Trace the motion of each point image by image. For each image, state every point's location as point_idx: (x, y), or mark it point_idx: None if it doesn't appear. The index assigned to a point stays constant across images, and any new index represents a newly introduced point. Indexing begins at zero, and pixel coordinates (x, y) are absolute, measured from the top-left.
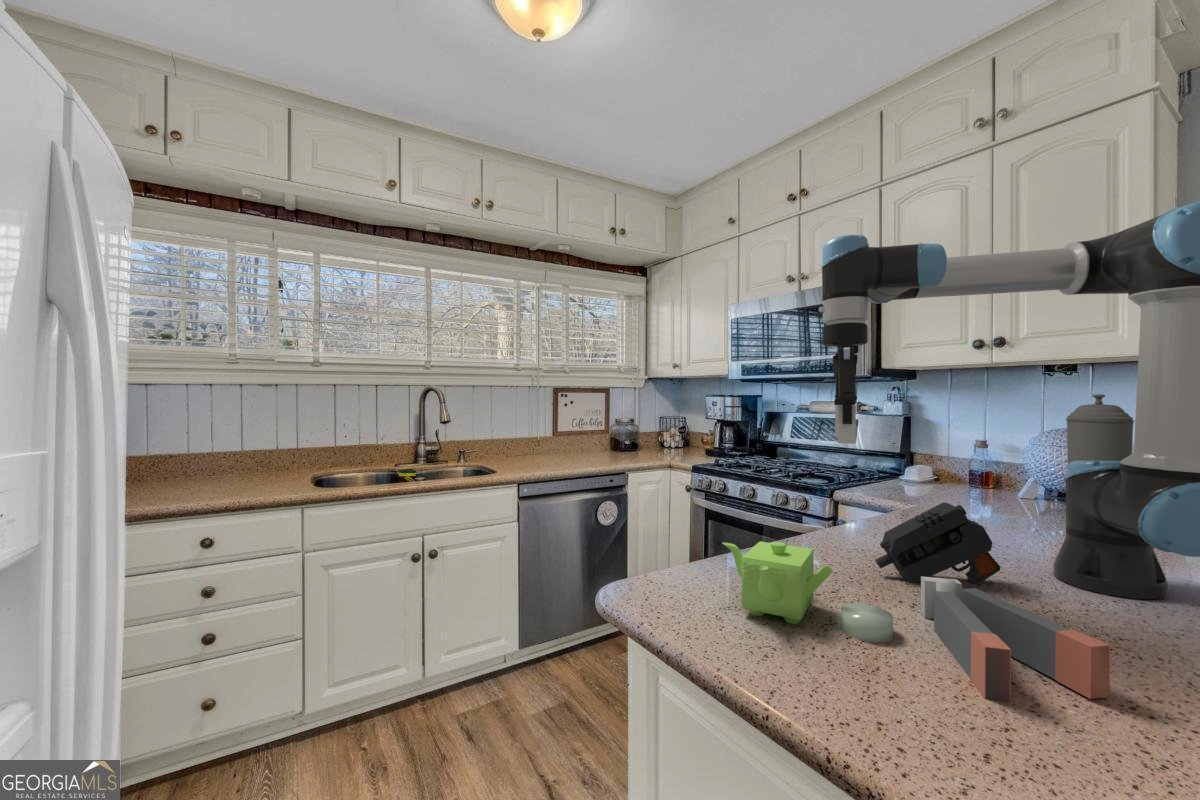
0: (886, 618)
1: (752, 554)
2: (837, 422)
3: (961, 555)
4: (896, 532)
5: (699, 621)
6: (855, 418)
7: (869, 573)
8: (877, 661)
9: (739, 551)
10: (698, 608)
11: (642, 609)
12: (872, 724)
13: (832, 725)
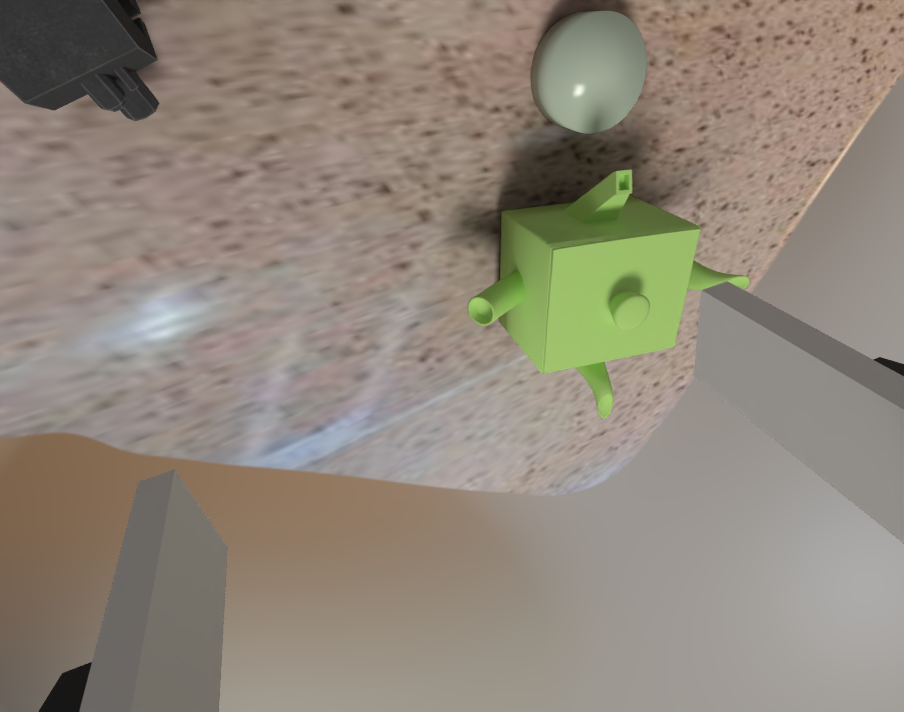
0: (612, 26)
1: (650, 340)
2: (213, 649)
3: None
4: (55, 44)
5: None
6: (894, 371)
7: (139, 132)
8: (694, 32)
9: (605, 376)
10: None
11: (638, 415)
12: (862, 17)
13: (869, 70)
